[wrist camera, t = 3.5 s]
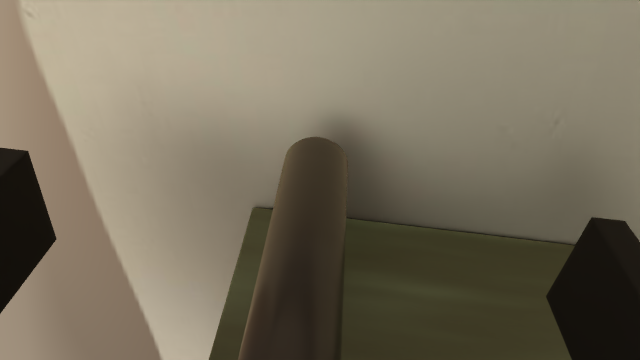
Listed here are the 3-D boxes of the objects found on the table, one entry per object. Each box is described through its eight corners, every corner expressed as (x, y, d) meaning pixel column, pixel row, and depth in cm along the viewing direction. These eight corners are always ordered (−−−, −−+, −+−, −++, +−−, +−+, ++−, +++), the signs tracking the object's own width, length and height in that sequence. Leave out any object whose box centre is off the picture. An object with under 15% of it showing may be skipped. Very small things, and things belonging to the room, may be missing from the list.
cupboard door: (254, 86, 17) (-15, 719, 5) (761, 147, 17) (1779, 928, 5) (252, 224, 20) (102, 761, 8) (664, 272, 20) (1086, 876, 9)
